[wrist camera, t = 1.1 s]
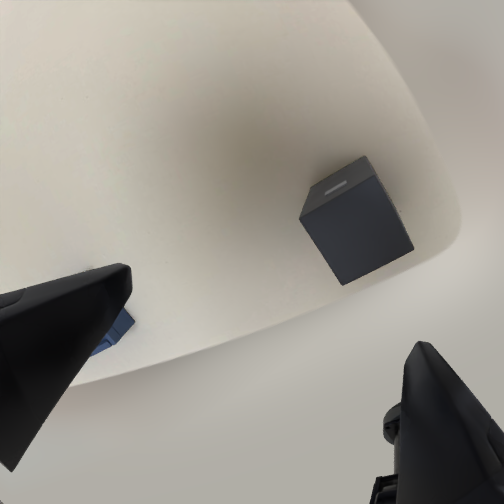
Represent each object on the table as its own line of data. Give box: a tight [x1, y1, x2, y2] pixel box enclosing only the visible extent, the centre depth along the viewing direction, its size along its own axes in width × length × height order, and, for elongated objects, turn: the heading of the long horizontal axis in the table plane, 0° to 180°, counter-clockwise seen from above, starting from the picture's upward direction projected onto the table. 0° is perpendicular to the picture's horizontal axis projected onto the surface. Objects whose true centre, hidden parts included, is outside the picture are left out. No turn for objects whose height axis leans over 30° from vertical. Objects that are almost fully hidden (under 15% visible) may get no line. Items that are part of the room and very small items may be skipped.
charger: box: [299, 156, 414, 286], centre depth 17 cm, size 4×4×6 cm
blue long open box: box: [90, 308, 135, 357], centre depth 31 cm, size 6×20×4 cm, turn 126°
